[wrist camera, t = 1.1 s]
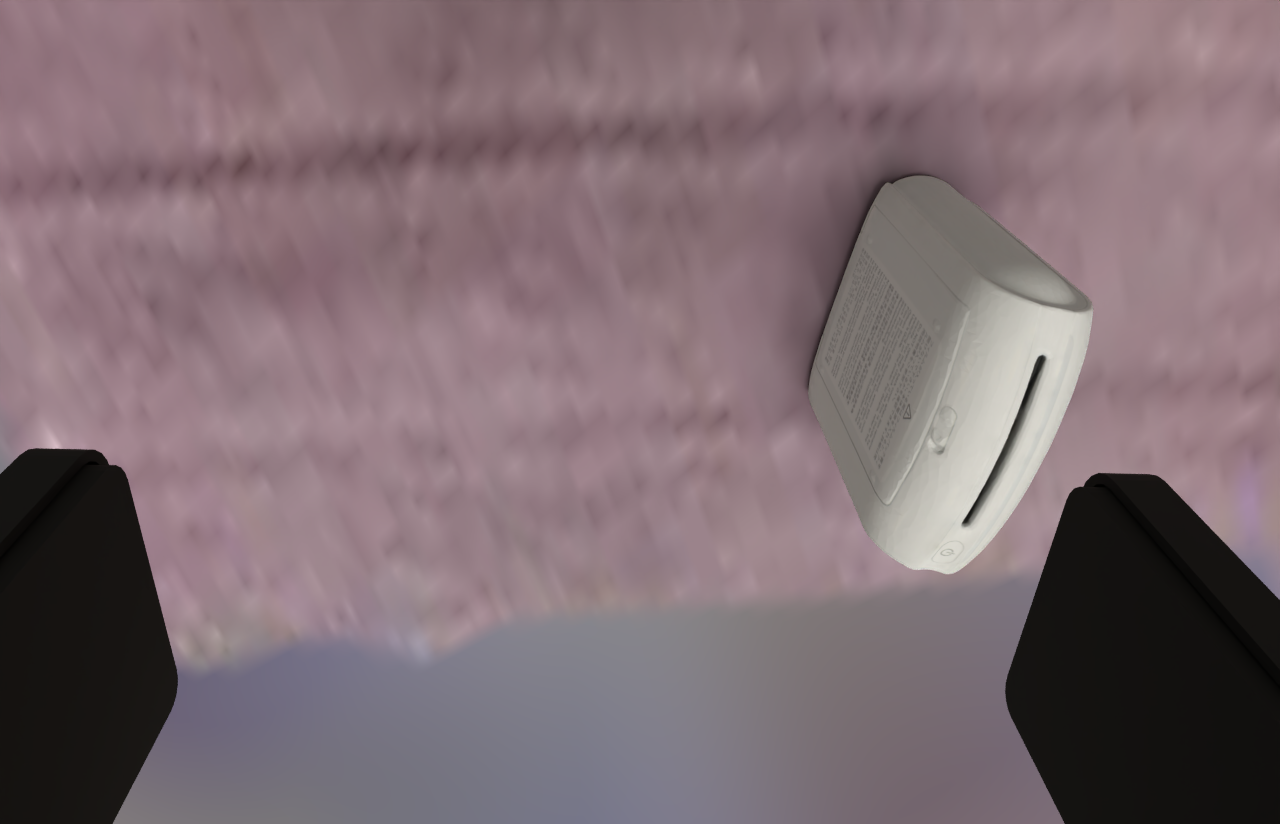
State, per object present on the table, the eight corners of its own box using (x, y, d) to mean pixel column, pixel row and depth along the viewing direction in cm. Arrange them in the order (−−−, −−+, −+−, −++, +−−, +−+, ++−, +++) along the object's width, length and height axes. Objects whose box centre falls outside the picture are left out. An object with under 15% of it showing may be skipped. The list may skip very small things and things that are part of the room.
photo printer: (887, 419, 40) (999, 615, 29) (792, 401, 39) (870, 595, 28) (982, 186, 35) (1160, 315, 24) (875, 161, 34) (1009, 283, 23)
